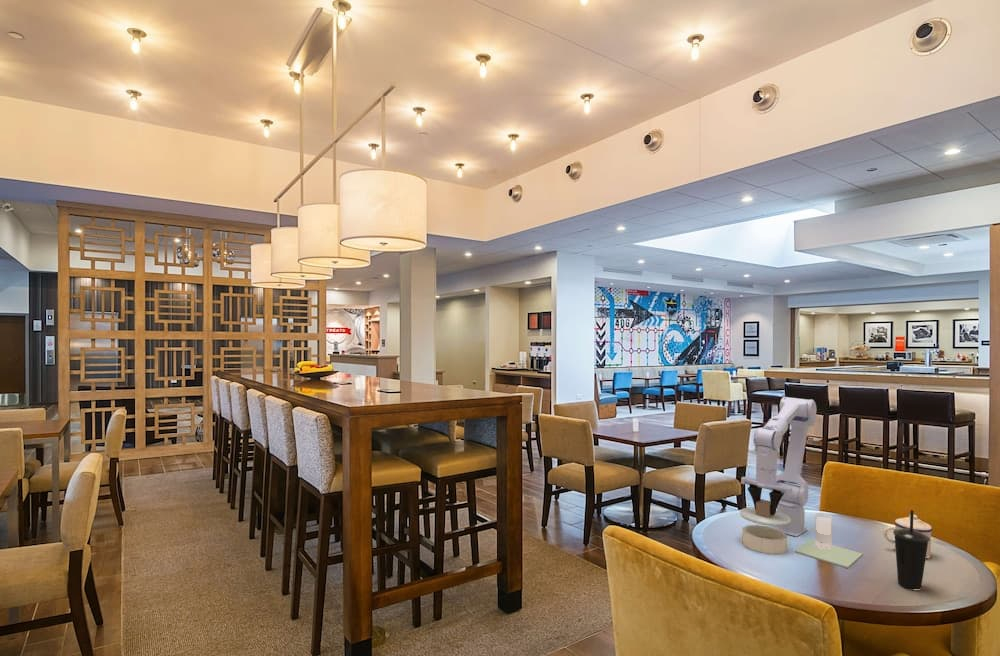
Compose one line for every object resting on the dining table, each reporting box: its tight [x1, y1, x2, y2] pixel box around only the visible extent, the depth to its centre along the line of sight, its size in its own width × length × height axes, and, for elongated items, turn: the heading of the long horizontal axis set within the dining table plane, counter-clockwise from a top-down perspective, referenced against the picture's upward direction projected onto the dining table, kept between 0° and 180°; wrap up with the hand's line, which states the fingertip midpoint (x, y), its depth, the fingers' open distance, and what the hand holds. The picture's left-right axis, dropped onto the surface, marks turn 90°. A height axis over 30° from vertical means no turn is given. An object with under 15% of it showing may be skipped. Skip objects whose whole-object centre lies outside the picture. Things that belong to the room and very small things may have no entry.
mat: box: [793, 538, 864, 570], centre depth 163 cm, size 14×14×1 cm
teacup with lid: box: [883, 514, 933, 557], centre depth 165 cm, size 12×9×12 cm
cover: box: [739, 498, 791, 527], centre depth 168 cm, size 14×14×5 cm
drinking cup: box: [892, 509, 930, 590], centre depth 143 cm, size 8×8×20 cm
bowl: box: [741, 524, 789, 555], centre depth 168 cm, size 12×12×4 cm
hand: (765, 512), depth 168 cm, fingers closed on cover, 4 cm apart
